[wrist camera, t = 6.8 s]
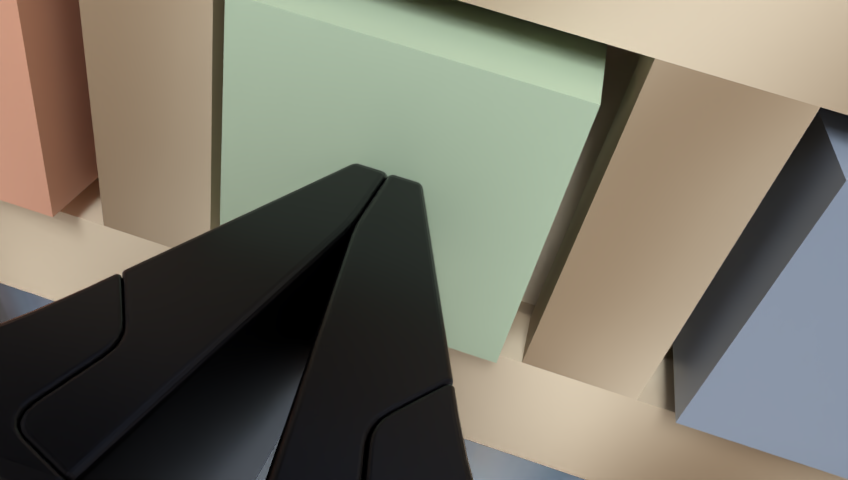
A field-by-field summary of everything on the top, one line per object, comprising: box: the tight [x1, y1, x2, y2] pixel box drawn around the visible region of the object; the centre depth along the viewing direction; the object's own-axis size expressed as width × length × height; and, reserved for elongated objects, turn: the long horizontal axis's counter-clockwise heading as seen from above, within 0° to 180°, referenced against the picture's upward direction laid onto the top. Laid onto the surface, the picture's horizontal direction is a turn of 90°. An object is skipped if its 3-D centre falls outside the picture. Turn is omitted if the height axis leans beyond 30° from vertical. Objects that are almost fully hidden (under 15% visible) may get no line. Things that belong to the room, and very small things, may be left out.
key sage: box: [220, 0, 607, 363], centre depth 10 cm, size 4×4×2 cm
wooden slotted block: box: [0, 0, 848, 480], centre depth 11 cm, size 20×9×4 cm, turn 78°
